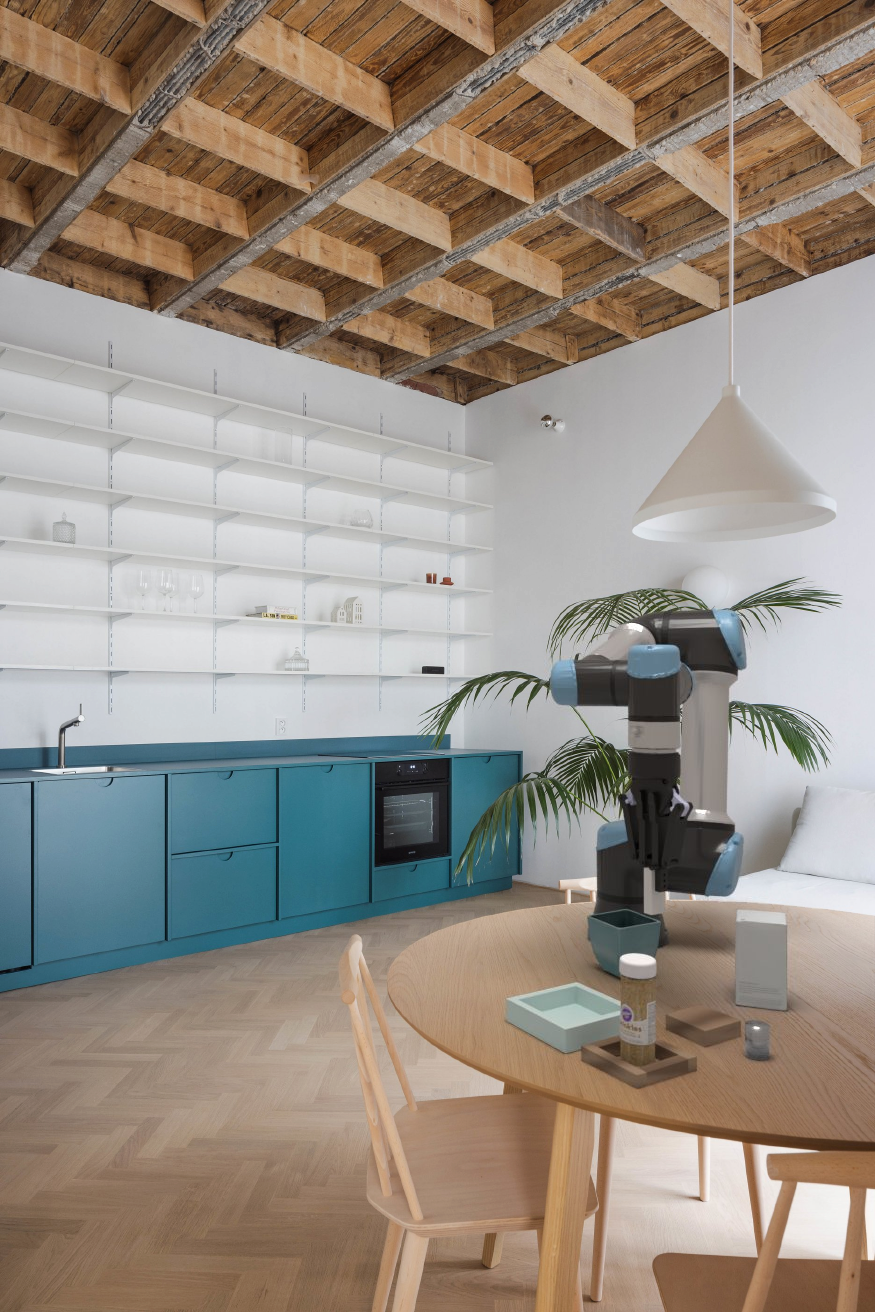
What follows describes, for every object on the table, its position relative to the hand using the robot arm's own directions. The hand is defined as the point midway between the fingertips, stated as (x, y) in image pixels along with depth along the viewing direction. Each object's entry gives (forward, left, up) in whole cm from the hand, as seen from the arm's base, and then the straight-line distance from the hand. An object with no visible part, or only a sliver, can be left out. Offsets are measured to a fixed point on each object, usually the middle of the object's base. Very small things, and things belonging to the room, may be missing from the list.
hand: (654, 912), depth 132 cm
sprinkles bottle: (+12, -15, -15) cm, 24 cm away
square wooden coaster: (+9, 0, -15) cm, 17 cm away
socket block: (+12, -15, -14) cm, 24 cm away
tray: (-2, -14, -14) cm, 20 cm away
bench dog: (+18, 0, -14) cm, 23 cm away
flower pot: (-15, +8, -15) cm, 22 cm away
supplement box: (+5, +17, -15) cm, 23 cm away
